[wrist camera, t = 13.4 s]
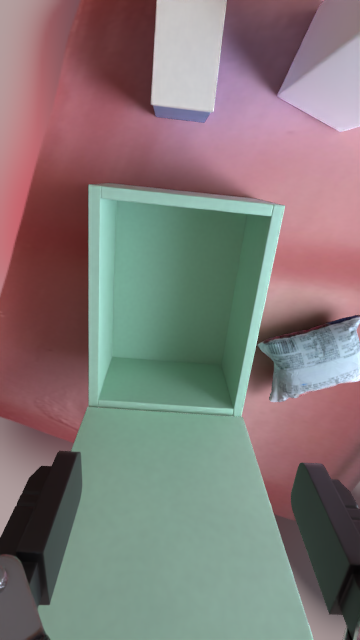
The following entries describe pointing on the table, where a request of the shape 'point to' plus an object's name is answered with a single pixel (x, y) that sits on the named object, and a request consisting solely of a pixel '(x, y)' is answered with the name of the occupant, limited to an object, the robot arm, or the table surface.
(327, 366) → the packaged food
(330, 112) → the milk carton
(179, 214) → the box
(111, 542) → the lid
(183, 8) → the snack box
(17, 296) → the table surface
